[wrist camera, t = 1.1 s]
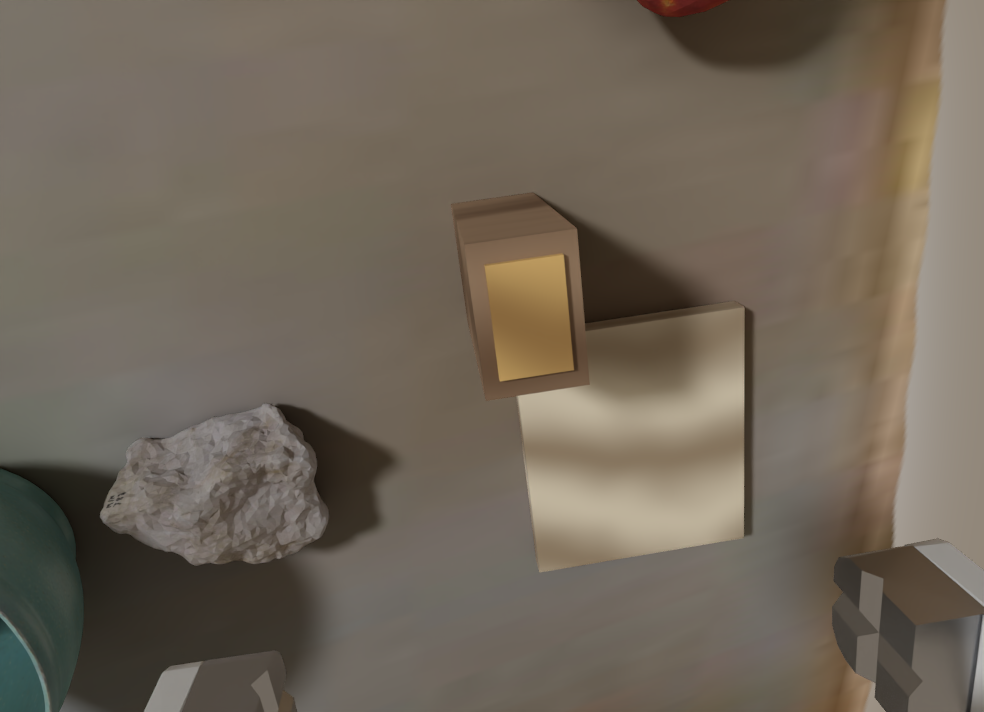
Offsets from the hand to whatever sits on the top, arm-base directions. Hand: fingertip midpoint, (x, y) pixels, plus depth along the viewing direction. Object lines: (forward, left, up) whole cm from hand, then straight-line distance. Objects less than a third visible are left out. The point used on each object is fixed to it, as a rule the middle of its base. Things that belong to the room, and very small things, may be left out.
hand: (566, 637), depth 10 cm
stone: (+9, -13, -27) cm, 31 cm away
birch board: (+11, +8, -26) cm, 30 cm away
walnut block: (0, +2, -26) cm, 26 cm away
